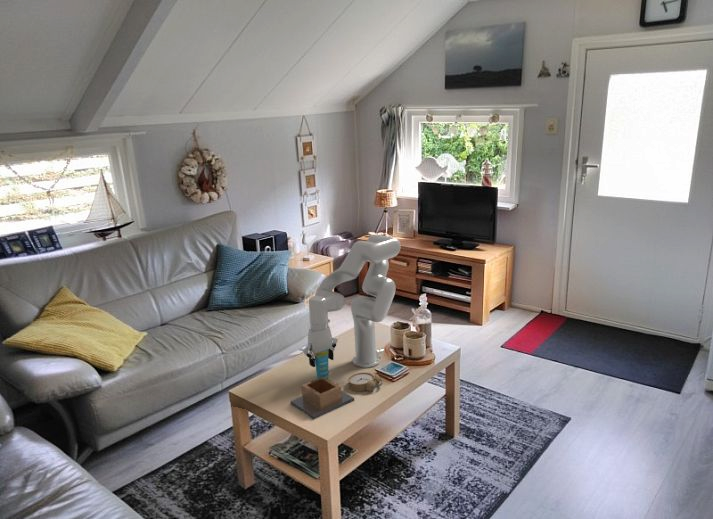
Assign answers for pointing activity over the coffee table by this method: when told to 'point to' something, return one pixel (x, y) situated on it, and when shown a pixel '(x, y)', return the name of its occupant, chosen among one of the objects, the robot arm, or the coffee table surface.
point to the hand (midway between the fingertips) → (321, 362)
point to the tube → (322, 364)
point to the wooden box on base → (321, 397)
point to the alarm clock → (364, 382)
